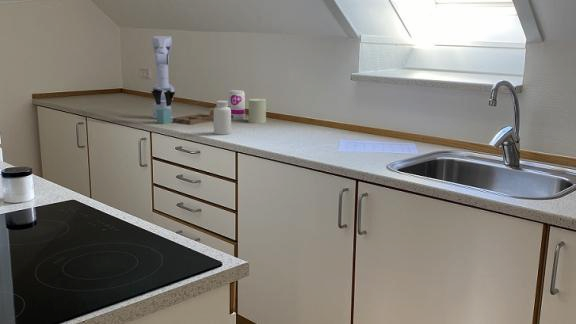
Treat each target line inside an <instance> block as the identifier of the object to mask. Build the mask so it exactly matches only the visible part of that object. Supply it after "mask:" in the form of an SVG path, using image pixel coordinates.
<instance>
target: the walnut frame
mask: <svg viewBox="0 0 576 324" xmlns="http://www.w3.org/2000/svg"><path fill="white" fill-rule="evenodd" d="M172 122H173V123H178V124H183V125H191V126H193V125H197V124H204V123H208V122H214V116H213V115H209V114H205V113H197V114H191V115H184V116H177V117H175V118H172Z"/></svg>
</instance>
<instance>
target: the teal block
mask: <svg viewBox="0 0 576 324" xmlns="http://www.w3.org/2000/svg"><path fill="white" fill-rule="evenodd" d="M171 117H172V108H171V109H165V108H163V109H157V119H156V124H159V123H160V124H161V125H167V124H172V119H171ZM160 124H159V125H160Z"/></svg>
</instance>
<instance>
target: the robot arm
mask: <svg viewBox="0 0 576 324" xmlns="http://www.w3.org/2000/svg"><path fill="white" fill-rule="evenodd" d="M172 43H173V42H172V36H171V35H161V36H160V35H153V36H152V47H153V49H152V50H153V54H155V56H154V61H155V62H154V63H155V69H156V84H155V85H152V86H151V94H152V96H153V99H154V102H153V104H152V117H151V118H152V119H156V120H157V109H163V108H165V109H171V110H172V102H173V101H174V96H175V94H176V92H175V87H173V85H172V84H170V83H169V82H170V81H169V64H170V61H169V60H170V59H169V55H170V54H172V46H173V45H172ZM173 118H176V117H174V116H171V120H173Z"/></svg>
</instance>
